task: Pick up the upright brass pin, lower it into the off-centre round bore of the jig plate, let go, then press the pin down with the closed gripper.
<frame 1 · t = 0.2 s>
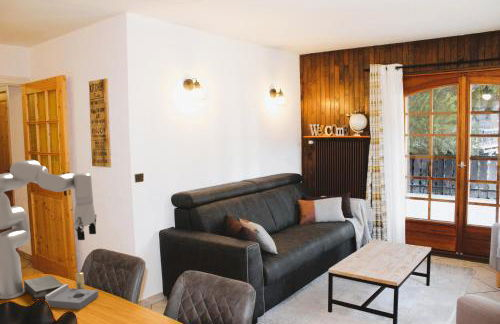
hand: (87, 236, 197), 31 cm above the table, tool pointing down, fingers open, 9 cm apart
stone block: (44, 292, 212), on the table, touching arm
brass pin: (80, 290, 212), on the table
jig plate: (72, 301, 200), on the table
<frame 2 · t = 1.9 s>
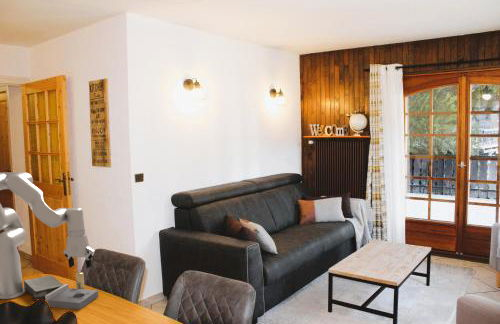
hand: (80, 266, 211), 12 cm above the table, tool pointing down, fingers open, 9 cm apart
nothing on the table moved.
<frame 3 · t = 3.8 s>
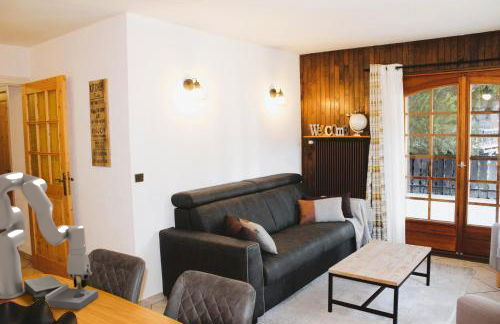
hand: (80, 286, 212), 2 cm above the table, tool pointing down, fingers closed on brass pin, 3 cm apart
brass pin: (80, 290, 212), on the table, touching gripper
everything else where it was.
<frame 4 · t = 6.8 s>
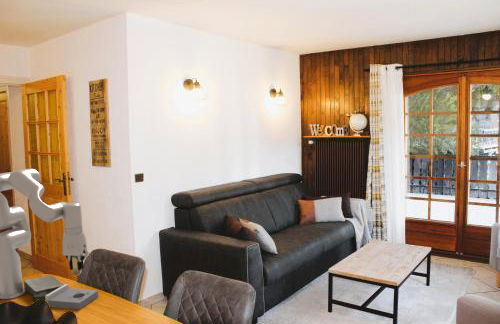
hand: (76, 268, 197), 16 cm above the table, tool pointing down, fingers closed on brass pin, 3 cm apart
brass pin: (77, 273, 198), point 14 cm above the table, touching gripper
everything else where it was.
when the fingers open (4 cm above the table, at t = 9.6 s): brass pin drops 1 cm, resting in jig plate.
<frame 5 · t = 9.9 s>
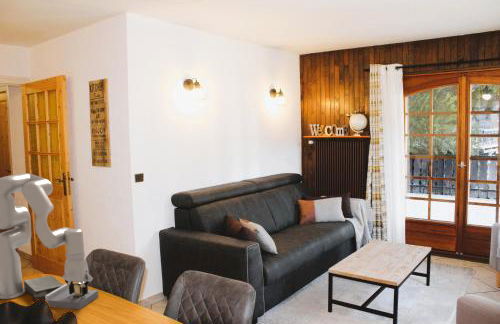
hand: (78, 293, 199), 4 cm above the table, tool pointing down, fingers open, 6 cm apart
brass pin: (79, 301, 199), resting in jig plate
everything else where it was.
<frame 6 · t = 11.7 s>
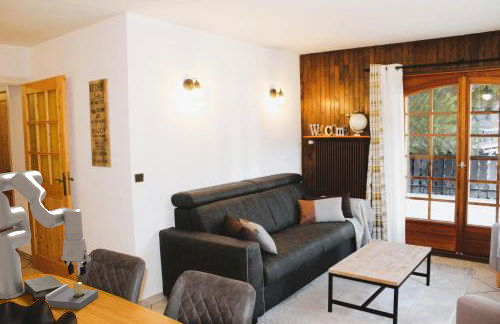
hand: (77, 273, 198), 13 cm above the table, tool pointing down, fingers open, 5 cm apart
nothing on the table moved.
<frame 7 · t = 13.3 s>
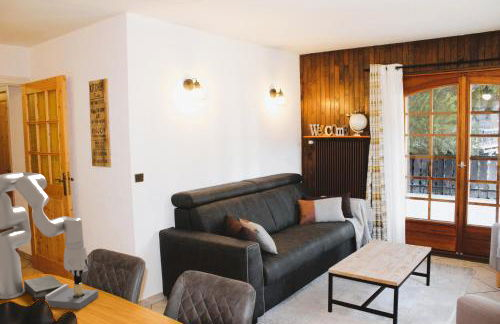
hand: (78, 283, 198), 9 cm above the table, tool pointing down, fingers closed
brass pin: (79, 301, 199), resting in jig plate, touching gripper
everything else where it was.
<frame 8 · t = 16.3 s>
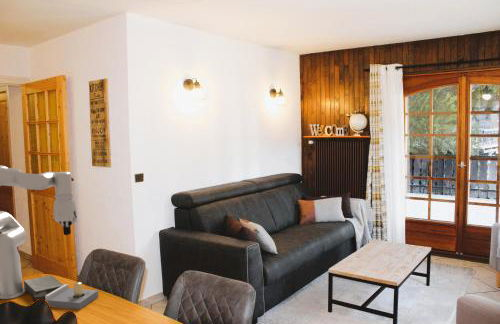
hand: (67, 234, 208), 29 cm above the table, tool pointing down, fingers closed
brass pin: (79, 301, 199), resting in jig plate
everything else where it was.
at the end: brass pin 0.0 cm from the target spot on the jig plate, point 0.0 cm above the jig plate's base; brass pin tilted 1°; the gripper is holding nothing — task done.
